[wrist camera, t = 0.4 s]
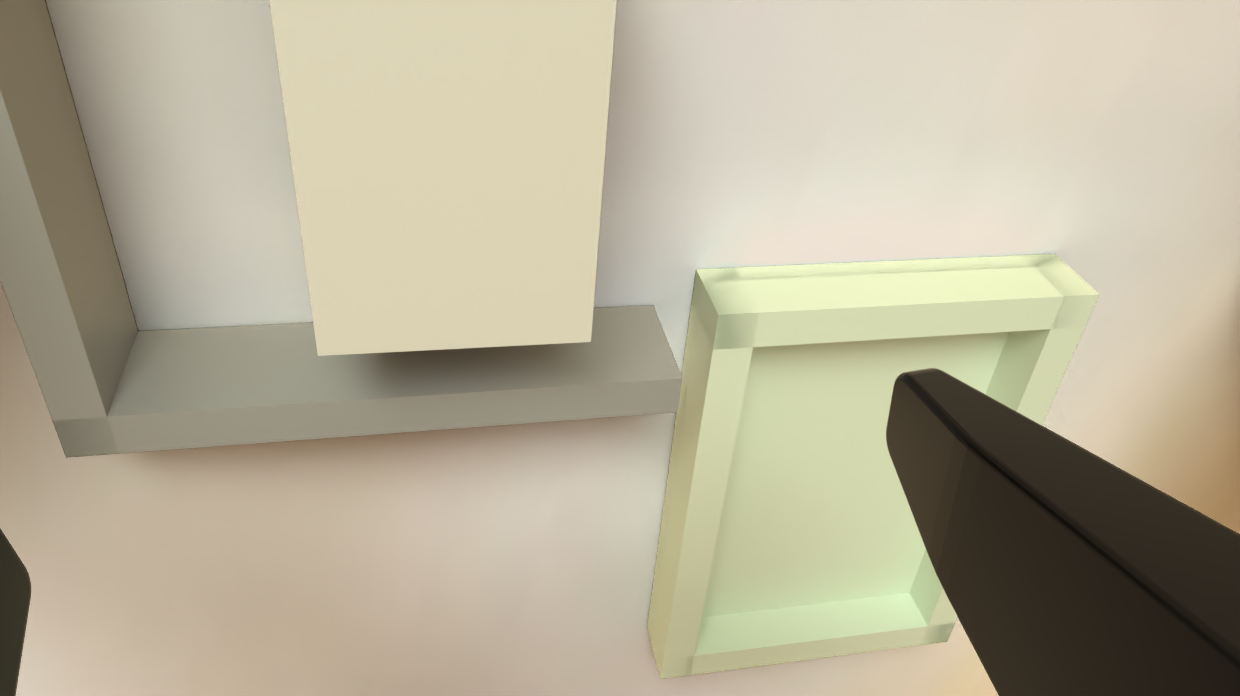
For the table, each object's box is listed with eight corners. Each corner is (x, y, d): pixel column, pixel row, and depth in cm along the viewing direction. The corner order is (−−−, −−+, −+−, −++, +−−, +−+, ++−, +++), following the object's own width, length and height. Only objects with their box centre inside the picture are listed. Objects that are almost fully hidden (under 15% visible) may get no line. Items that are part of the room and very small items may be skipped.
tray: (1055, 253, 25) (1099, 294, 24) (920, 594, 34) (946, 641, 32) (696, 269, 23) (718, 314, 22) (646, 627, 32) (660, 679, 30)
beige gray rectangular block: (574, -237, 17) (631, -198, 13) (554, 216, 22) (590, 341, 18) (275, -259, 16) (239, -225, 12) (330, 221, 21) (317, 355, 17)
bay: (739, -486, 15) (805, -511, 13) (649, 337, 24) (678, 412, 22) (-208, -602, 12) (-350, -660, 10) (101, 368, 22) (66, 457, 19)
